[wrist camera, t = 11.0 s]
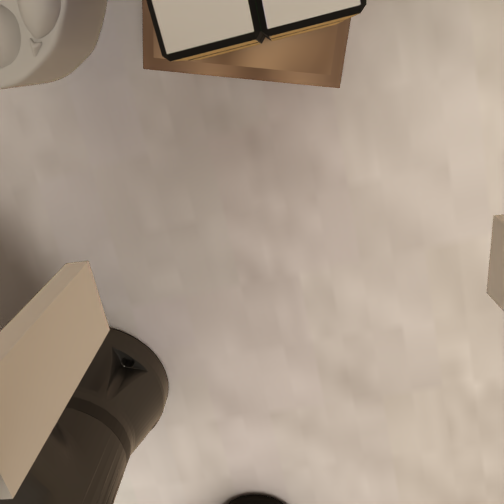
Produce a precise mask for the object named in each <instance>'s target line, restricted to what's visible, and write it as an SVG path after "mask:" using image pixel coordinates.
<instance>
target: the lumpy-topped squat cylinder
mask: <svg viewBox="0 0 504 504" xmlns="http://www.w3.org/2000/svg"><path fill="white" fill-rule="evenodd" d="M106 6H107V0H0V89H7V88H14V87H21V86H29V85H36V84H43V83H49V82H53V81H56V80H59V79H62V78H64V77H66V76H68V75H69V74H70V73H72V72H73V71H74V70H75V69H76V68H77V67H79V66H80V65H81V64H82V63H83V62H84V61H85V59H86V58H87V57H88V56H89V55H90V54H91V53H92V51H93V50H94V48H95V46H96V44H97V41H98V38H99V35H100V32H101V28H102V24H103V20H104V16H105V11H106Z"/></svg>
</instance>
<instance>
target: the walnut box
mask: <svg viewBox="0 0 504 504" xmlns="http://www.w3.org/2000/svg"><path fill="white" fill-rule="evenodd" d="M142 9H143V69H150V70H160V71H171V72H181V73H191V74H201V75H211V76H221V77H232V78H242V79H252V80H262V81H272V82H283V83H293V84H303V85H313V86H323V87H334V88H340V82H341V76H342V70H343V63H344V57H345V51H346V45H347V39H348V32H349V26H350V20H351V17H350V18H348V19H346V20H344V21H342V22H340V23H338V24H336V25H332V26H328V27H325V28H321V29H317V30H313V31H309V32H305V33H301V34H298V35H294V36H290V37H286V38H282V39H278V40H274V41H271V40H269V39H268V38H266V37H265V39H264V41H263V43H262V44H259V45H255V46H251V47H247V48H243V49H240V50H236V51H232V52H228V53H224V54H220V55H216V56H213V57H209V58H205V59H201V60H190V61H188V60H185V61H172V62H170V61H169V60H167V59H165V58H164V57H162V54H161V50H160V47H159V43H158V40H157V36H156V33H155V29H154V26H153V22H152V19H151V15H150V12H149V8H148V5H147V1H146V0H142Z"/></svg>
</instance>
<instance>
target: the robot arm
mask: <svg viewBox="0 0 504 504" xmlns="http://www.w3.org/2000/svg"><path fill="white" fill-rule="evenodd" d="M487 294H488V295H489V296H490V297H491V298H492V299H493V300H494V301H495V302H496V303H497V304H498V305H499V307H500V308H501V309H502V310H503V311H504V215H495V216H494V217H493V227H492V238H491V249H490V260H489V271H488V282H487ZM167 396H168V380H167V376H166V373H165V370H164V368H163V366H162V364H161V363H160V361H159V360H158V358H157V357H156V356H155V355H154V353H153V352H152V351H151V350H150V349H149V348H148V347H146V346H145V345H144V344H143V343H141V342H140V341H138V340H137V339H135V338H133V337H131V336H130V335H127V334H125V333H123V332H120V331H117V330H114V329H110V328H109V326H108V322H107V319H106V316H105V313H104V309H103V306H102V303H101V300H100V296H99V293H98V290H97V287H96V283H95V280H94V277H93V274H92V271H91V267H90V264H89V261H83V262H74V263H66V264H65V265H64V266H63V268H62V269H61V270H60V271H59V272H58V273H57V274H56V275H55V276H54V277H53V278H52V279H51V280H50V281H49V282H48V283H47V284H46V285H45V286H44V287H43V288H42V289H41V290H40V291H39V292H38V293H37V294H36V295H35V296H34V297H33V298H32V299H31V300H30V301H29V303H28V304H27V305H26V306H25V307H24V308H23V309H22V310H21V311H20V312H19V313H18V314H17V315H16V316H15V317H14V318H13V319H12V320H11V321H10V322H9V323H8V324H7V325H6V326H5V327H4V328H3V329H2V330H1V331H0V504H113V503H114V500H115V497H116V494H117V491H118V488H119V486H120V483H121V480H122V477H123V474H124V471H125V468H126V465H127V463H128V460H129V457H130V455H131V454H132V453H133V452H134V450H135V449H136V448H137V447H138V445H139V444H140V443H141V442H142V441H143V439H144V438H145V437H146V436H147V434H148V433H149V432H150V431H151V430H152V429H153V428H154V426H155V425H156V424H157V422H158V421H159V419H160V417H161V415H162V412H163V409H164V406H165V403H166V400H167Z"/></svg>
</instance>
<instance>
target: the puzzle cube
mask: <svg viewBox="0 0 504 504" xmlns="http://www.w3.org/2000/svg"><path fill="white" fill-rule="evenodd" d="M146 1H147V5H148V8H149V12H150V15H151V19H152V22H153V26H154V29H155V33H156V36H157V40H158V43H159V47H160V50H161V54H162V57H164V58H165V59H167V60H169V61H170V62H172V61H185V60H188V61H190V60H201V59H205V58H209V57H213V56H216V55H220V54H224V53H228V52H232V51H236V50H240V49H243V48H247V47H251V46H255V45H259V44H262V43H263V41H264V39H265V37H266V38H268V39H269V40H271V41H274V40H278V39H282V38H286V37H290V36H294V35H298V34H301V33H305V32H309V31H313V30H317V29H321V28H325V27H328V26H332V25H336V24H338V23H340V22H342V21H344V20H346V19H348V18H350V17H353V16H355V15H357V14H359V13H361V11H362V10H363V8H364V7H365V5H366V4H367V3H366V0H146Z"/></svg>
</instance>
